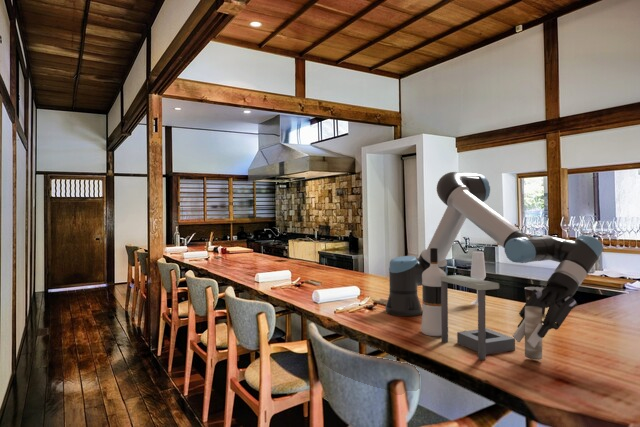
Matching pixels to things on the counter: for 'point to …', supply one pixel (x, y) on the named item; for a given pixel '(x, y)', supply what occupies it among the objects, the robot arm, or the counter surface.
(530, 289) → the coffee mug
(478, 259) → the champagne flute
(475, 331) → the socket block
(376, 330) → the counter surface
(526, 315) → the peg
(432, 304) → the vodka
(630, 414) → the counter surface
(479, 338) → the small grey bench
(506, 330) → the counter surface
